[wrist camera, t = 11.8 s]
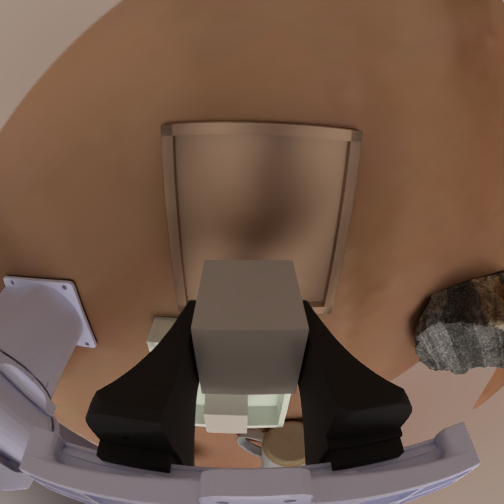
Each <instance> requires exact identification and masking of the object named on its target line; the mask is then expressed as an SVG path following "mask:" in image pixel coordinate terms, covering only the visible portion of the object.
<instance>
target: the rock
mask: <svg viewBox="0 0 504 504" xmlns="http://www.w3.org/2000/svg"><path fill="white" fill-rule="evenodd" d="M415 339H416V345H415V348H416V354H417V355H418V356H419V361H421V362H423V363H424V364H425V365H426V366H428V368H429V369H432V370H435V371H437V370H451V372H453V373H454V374H465V373H467V372H468V371H470V370H471V369H472V368H474V367H480V368H488V367H497V368H502V369H503V368H504V273H498V274H494V275H490V276H485V277H482V278H477V279H472V280H470V281H469V282H467V283H460V284H458V285H454V286H452V287H450V288H448V289H446V290H443V291H440V292H437V293H434V294H432V295H431V299H430V302H429V304H428V306H427V308H426V309H425V310H424V312H423V314H422V315H421V317H420V319H419V321H418V324H417V327H416V329H415Z"/></svg>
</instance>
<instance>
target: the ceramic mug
mask: <svg viewBox="0 0 504 504" xmlns="http://www.w3.org/2000/svg"><path fill="white" fill-rule="evenodd" d="M246 438H250V439H254V440H257V441H260V442H262V446H261V447H259V446H257V445H255V444H253V443H251V442H250V441H248V440H247V439H246ZM237 442H238V444H239V445H240V446H241V447H242V448H243V449H244V450H246V451H247V452H249V453H251V454H253V455H255V456H258V457H260V458H262V468H271V467H291V466H303V465H305V445H304V429H303V422H299V421H285V422H284V425H283V427H272V428H270V429H269V430H268V432H266V433H265V432H263V431H260V430H255V429H247V434H245V433H240V434H239V436H238V438H237Z"/></svg>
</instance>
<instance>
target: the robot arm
mask: <svg viewBox="0 0 504 504" xmlns="http://www.w3.org/2000/svg"><path fill="white" fill-rule="evenodd" d="M3 281H4V284H5V286H6V287H5V288H4V289H3V290H2V291H1V292H0V491H8V490H22V489H28V488H29V487H30V485H31V483H32V482H33V480H35V481H37V482H38V483H40V484H41V485H43V486H44V487H46V488H48V489H50V490H52V491H55V492H57V493H60V494H62V495H65V496H67V497H70V498H72V499H75V500H78V501H81V502H83V503H86V504H404V503H406V502H409V501H412V500H414V499H417V498H419V497H422V496H425V495H427V494H429V493H432V492H434V491H437V490H439V489H441V488H444V487H446V486H449V485H451V484H452V483H454V482H455V481H457V480H458V479H460V478H462V477H463V476H465V475H466V474H467V473H469V472H470V471H472V470H473V469H474V468H476V467H477V466H478V465H479V464H480V461H479V459H478V456H477V453H476V450H475V448H474V445H473V443H472V440H471V438H470V435H469V433H468V431H467V428H466V426H465V424H464V423H463V422H462V423H459V424H456V425H453V426H451V427H448V428H445V429H443V430H442V431H440V432H439V433H438V434H437V435H436V436H435V438H434V439H430V440H427V441H424V442H421V443H418V444H414V445H410V446H407V447H403V446H402V442H401V439H400V437H401V436H402V431H401V426H402V425H403V424H404V423H405V421H406V420H407V419H408V418H409V416H410V414H411V412H412V406H411V404H410V401H409V399H408V396H407V395H406V393H405V391H404V389H403V388H401V387H399V386H396V385H395V384H393V383H391V382H389V381H387V380H385V379H384V378H382V377H381V376H379V375H377V374H376V373H374V372H373V371H371V370H370V369H369V368H367V367H366V366H365V365H363V364H362V363H361V362H359V361H358V360H357V359H356V358H355V357H353V356H352V355H351V354H350V353H349V352H348V351H347V350H346V349H345V348H344V347H343V346H342V345H341V344H340V343H339V342H338V341H337V339H336V338H335V337H334V336H333V335H332V334H331V333H330V331H329V330H328V329H327V327H326V326H325V325H324V324H323V322H322V321H321V320H320V318H319V317H318V316H317V314H316V313H315V311H314V310H313V308H312V307H311V305H310V304H309V302H308V301H307V300H302V301H303V305H304V310H305V314H306V318H307V322H308V326H309V332H308V337H307V342H306V347H305V352H304V356H303V361H302V366H301V370H300V375H299V379H298V386H299V391H300V397H301V406H302V416H303V429H304V445H305V465H303V466H291V467H271V468H213V467H197V466H194V435H195V414H196V400H197V392H198V386H199V381H200V380H199V375H198V369H197V364H196V358H195V352H194V346H193V339H192V333H191V325H192V320H193V315H194V310H195V305H196V300H189V301H188V302H187V304H186V306H185V308H184V309H183V311H182V312H181V314H180V315H179V317H178V318H177V320H176V321H175V323H174V324H173V325H172V327H171V328H170V330H169V331H168V332H167V333H166V335H165V336H164V337H163V338H162V339H161V341H160V342H159V343H158V344H157V345H156V346H155V348H154V349H153V350H152V351H151V352H150V353H149V354H148V355H147V356H146V357H145V358H144V359H142V360H141V361H140V362H139V363H138V364H137V365H136V366H134V367H133V368H132V369H131V370H129V371H128V372H127V373H125V374H124V375H123V376H121V377H120V378H118V379H117V380H115V381H114V382H112V383H110V384H109V385H107V386H105V387H103V388H102V389H100V390H98V391H96V393H95V395H94V397H93V399H92V401H91V404H90V406H89V409H88V412H87V415H86V422H87V424H88V426H89V427H90V429H91V430H92V431H93V432H94V433H95V434H96V436H97V437H98V438H99V439H100V442H99V446H98V450H92V449H89V448H85V447H81V446H78V445H74V444H71V443H68V442H65V441H64V440H63V438H62V437H61V436H59V424H58V421H57V419H56V418H55V417H54V416H53V414H54V412H55V409H56V405H55V404H54V403H53V402H52V401H51V398H52V396H53V394H54V392H55V389H56V387H57V385H58V383H59V380H60V378H61V376H62V374H63V372H64V370H65V367H66V365H67V363H68V361H69V359H70V357H71V355H72V353H73V351H74V349H75V347H76V345H78V346H84V347H91V348H95V347H96V345H97V343H96V340H95V338H94V335H93V333H92V331H91V328H90V326H89V323H88V321H87V318H86V315H85V313H84V310H83V307H82V305H81V302H80V299H79V296H78V293H77V290H76V287H75V285H74V283H73V282H71V281H64V280H51V279H38V278H26V277H14V276H5V277H4V278H3ZM64 285H65V286H66V287H65V286H64Z"/></svg>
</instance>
